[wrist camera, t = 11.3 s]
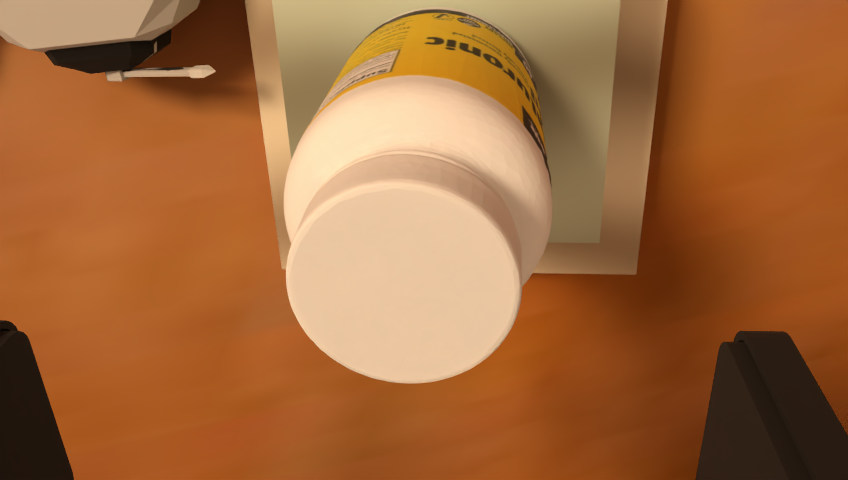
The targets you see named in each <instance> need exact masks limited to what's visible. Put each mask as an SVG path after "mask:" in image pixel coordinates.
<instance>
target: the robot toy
mask: <svg viewBox="0 0 848 480" xmlns="http://www.w3.org/2000/svg"><path fill="white" fill-rule="evenodd" d="M199 2H200V0H0V36H2V37H3V38H4V39H5V40H6V41H7V42H9V43H12V44H14V45H17V46H20V47H23V48H26V49H29V50H34V51H40V52H44V53H45V54H46V55H47V56H48V58H49V59H50V60H51V61H52V63H53V64H54V65H57V66H61V67H66V68H70V69H75V70H79V71H83V72H86V73H90V74H92V73H101V72H105V74H106V77H107V80H108V81H124V80H126V79H128V78H130V77H171V76H190V78H204V77H206V76H208V75H210V74H212V73H214V72H216V71H215V70H214V69H213V68H212V67H211V66H209V65H196V66H194V67H178V68H134V67H136V66H137V65H139V64H141V63H142V62H144V61H145V60H147V59H149V58H150V57H152V56H153V55H155V54H156V53H158V52H159V51H160V50H162V49H163V48H164V47H166V46H167V45H168V44H170V43H171V28H172V27H174V26H175V25H176V24H178V23H179V22H180V21H182V20H183V19H184V18H185V17H187V16H188V15H189V14H191V13H192V12H193V11H194V10H196V9H197V8H198V5H199Z"/></svg>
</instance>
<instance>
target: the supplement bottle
mask: <svg viewBox="0 0 848 480" xmlns="http://www.w3.org/2000/svg"><path fill="white" fill-rule="evenodd" d="M284 216H285V222H286V228H287V232H288V235H289V239H290V242H291V247H290V250H289V254H288V258H287V266H286V286H287V291H288V297H289V301H290V304H291V307H292V310H293V312H294V314H295V316H296V318H297V320H298V322H299V323H300V325H301V327H302V328H303V330H304V331H305V332H306V334H307V335H308V336H309V338H310V339H311V340H312V341H313V342H314V343H315V344H316V345H317V346H318V347H319V348H320V349H321V350H322V351H323V352H325V353H326V354H327V355H328V356H329V357H331V358H332V359H334V360H335V361H337V362H338V363H340V364H342V365H343V366H345V367H347V368H348V369H351V370H353V371H355V372H357V373H360V374H363V375H366V376H368V377H371V378H374V379H379V380H384V381H389V382H396V383H425V382H433V381H438V380H443V379H446V378H449V377H453V376H455V375H458V374H461V373H463V372H465V371H468V370H469V369H471V368H473V367H474V366H476V365H477V364H479V363H480V362H482V361H483V360H484V359H486V358H487V357H489V356H490V355H491V354H492V353H493V352H494V351H495V350H496V349H497V348H498V347H499V346H500V344H501V343H502V342H503V340H504V339H505V338H506V336H507V335H508V333H509V331H510V329H511V327H512V326H513V324H514V322H515V319H516V317H517V314H518V310H519V306H520V302H521V295H522V286H523V285H524V284H525V283H526V282H527V280H528V279H529V277H530V276H531V275H532V273H533V272H534V270H535V268H536V267H537V265H538V263H539V261H540V259H541V257H542V255H543V253H544V250H545V248H546V245H547V242H548V238H549V235H550V229H551V222H552V185H551V176H550V171H549V167H548V162H547V154H546V148H545V139H544V132H543V125H542V117H541V112H540V102H539V97H538V92H537V87H536V84H535V80H534V77H533V74H532V72H531V69H530V67H529V65H528V63H527V61H526V59H525V57H524V55H523V54H522V52H521V50H520V49H519V48H518V47H517V45H516V44H515V43H514V42H513V40H512V39H511V38H510V37H509V36H508V35H507V34H506V33H504V32H503V31H502V30H501V29H500V28H499V27H497V26H496V25H494V24H493V23H491V22H490V21H488V20H486V19H484V18H482V17H480V16H478V15H475V14H473V13H470V12H467V11H464V10H459V9H455V8H448V7H427V8H421V9H415V10H411V11H408V12H405V13H402V14H400V15H397V16H395V17H393V18H391V19H389V20H387V21H386V22H384V23H382V24H381V25H380V26H378V27H377V28H375V29H374V30H373V31H372V32H371V33H370V34H368V35H367V37H366V38H365V39H364V40H363V41H362V42H361V43H360V44H359V45H358V47H357V48H356V49H355V50H354V52H353V53H352V55H351V56H350V58H349V59H348V61H347V63H346V64H345V66H344V67H343V69H342V71H341V72H340V74H339V76H338V77H337V79H336V81H335V82H334V84H333V86H332V87H331V89H330V91H329V92H328V94H327V96H326V97H325V99H324V101H323V102H322V104H321V106H320V108H319V109H318V111H317V113H316V114H315V116H314V117H313V119H312V121H311V123H310V124H309V125H308V127H307V129H306V130H305V132H304V134H303V136H302V137H301V139H300V141H299V143H298V145H297V148H296V150H295V152H294V155H293V157H292V159H291V162H290V165H289V169H288V172H287V176H286V182H285V188H284Z"/></svg>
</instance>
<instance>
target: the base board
mask: <svg viewBox="0 0 848 480" xmlns="http://www.w3.org/2000/svg"><path fill="white" fill-rule="evenodd" d="M667 2H668V0H245V6H246V13H247V20H248V27H249V35H250V42H251V49H252V56H253V63H254V71H255V78H256V85H257V92H258V100H259V107H260V114H261V121H262V128H263V136H264V143H265V150H266V157H267V165H268V172H269V179H270V186H271V193H272V201H273V208H274V215H275V222H276V229H277V237H278V244H279V251H280V258H281V266H282V269H286V266H287V258H288V254H289V250H290V247H291V242H290V239H289V235H288V232H287V228H286V222H285V216H284V188H285V182H286V176H287V172H288V169H289V165H290V162H291V159H292V157H293V155H294V152H295V150H296V148H297V145H298V143H299V141H300V139H301V137H302V136H303V134H304V132H305V130H306V129H307V127H308V125H309V124H310V123H311V121H312V119H313V117H314V116H315V114H316V113H317V111H318V109H319V108H320V106H321V104H322V102H323V101H324V99H325V97H326V96H327V94H328V92H329V91H330V89H331V87H332V86H333V84H334V82H335V81H336V79H337V77H338V76H339V74H340V72H341V71H342V69H343V67H344V66H345V64H346V63H347V61H348V59H349V58H350V56H351V55H352V53H353V52H354V50H355V49H356V48H357V47H358V45H359V44H360V43H361V42H362V41H363V40H364V39H365V38H366V37H367V35H368V34H370V33H371V32H372V31H373V30H374V29H375V28H377V27H378V26H380V25H381V24H382V23H384V22H386V21H387V20H389V19H391V18H393V17H395V16H397V15H400V14H402V13H405V12H408V11H411V10H415V9H421V8H427V7H448V8H455V9H459V10H464V11H467V12H470V13H473V14H475V15H478V16H480V17H482V18H484V19H486V20H488V21H490V22H491V23H493V24H494V25H496V26H497V27H499V28H500V29H501V30H502V31H503V32H504V33H506V34H507V35H508V36H509V37H510V38H511V39H512V40H513V42H514V43H515V44H516V45H517V47H518V48H519V49H520V50H521V52H522V54H523V55H524V57H525V59H526V61H527V63H528V65H529V67H530V69H531V72H532V74H533V77H534V80H535V84H536V87H537V92H538V97H539V102H540V112H541V117H542V125H543V132H544V139H545V148H546V154H547V162H548V167H549V171H550V176H551V185H552V222H551V229H550V235H549V238H548V242H547V245H546V248H545V250H544V253H543V255H542V257H541V259H540V261H539V263H538V265H537V267H536V268H535V270H534V272H533V273H560V274H624V275H636V273H637V264H638V255H639V246H640V238H641V229H642V220H643V212H644V203H645V194H646V185H647V177H648V168H649V159H650V150H651V142H652V133H653V124H654V116H655V107H656V98H657V89H658V81H659V72H660V63H661V55H662V46H663V37H664V28H665V20H666V11H667Z"/></svg>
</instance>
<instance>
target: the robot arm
mask: <svg viewBox="0 0 848 480" xmlns="http://www.w3.org/2000/svg"><path fill="white" fill-rule="evenodd" d="M0 480H74V477H73V472H72V469H71V466H70V463H69V460H68V457H67V454H66V451H65V448H64V445H63V442H62V439H61V436H60V433H59V430H58V427H57V424H56V420H55V417H54V414H53V411H52V408H51V405H50V402H49V399H48V396H47V393H46V390H45V387H44V384H43V381H42V378H41V375H40V372H39V369H38V366H37V362H36V359H35V356H34V353H33V350H32V347H31V344H30V341H29V339H28V337H27V335H26V334H25V333H24V332H20V331H18V330H17V328H16V326H15V325H14V324H13V323H12V322H9V321H2V320H0ZM696 480H848V435H847V434H846V432H845V430H844V428H843V427H842V425H841V423H840V422H839V420H838V418H837V416H836V415H835V413H834V411H833V409H832V408H831V406H830V404H829V403H828V401H827V399H826V397H825V396H824V394H823V392H822V390H821V389H820V387H819V385H818V384H817V382H816V380H815V378H814V377H813V375H812V373H811V371H810V370H809V368H808V366H807V365H806V363H805V361H804V359H803V358H802V356H801V354H800V353H799V351H798V349H797V347H796V346H795V344H794V342H793V340H792V339H791V337H790V336H789V335H788V334H787V333H786V332H775V331H740V332H738V333H737V334H736V336H735V338H734V342H723V343H722V344H721V346H720V348H719V352H718V358H717V363H716V369H715V374H714V380H713V386H712V391H711V397H710V402H709V408H708V413H707V419H706V425H705V430H704V436H703V441H702V447H701V452H700V458H699V464H698V469H697V475H696Z"/></svg>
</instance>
